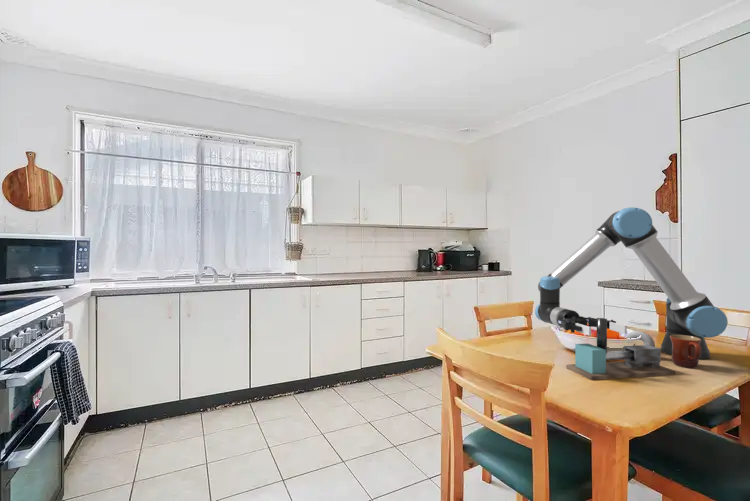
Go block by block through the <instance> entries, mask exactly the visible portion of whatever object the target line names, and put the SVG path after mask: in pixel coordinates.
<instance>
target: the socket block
mask: <svg viewBox="0 0 750 501" xmlns="http://www.w3.org/2000/svg"><path fill="white" fill-rule="evenodd" d="M574 347H575V357H574V358H575V362H574V364H575V366H576V367H578V368H581V369H583V370H585V371H587V372H589V373H592V374H598V373H606V362H607V361H606V350H605V349H602V348H600V347H597V345H595V344H590V343H575V346H574Z"/></svg>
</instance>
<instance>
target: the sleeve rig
mask: <svg viewBox="0 0 750 501" xmlns="http://www.w3.org/2000/svg"><path fill="white" fill-rule="evenodd" d="M626 350H633V351H634V359H627V360H620V361H610V362H609V361H606V373H598V374H592V373H589V372H587V371H585V370H583V369H581V368H578V367H576V366H575V363H573V364H566V365H565V366H566V367H565V368H566V369H567V370H570V371H572V372H574V373H576V374H578V375H580V376H583V377H584V378H586V379H588V380H590V379H591V381H596V380H597V379H598V380H612V379H613V378H614V379H626V378H628V379H629V378H642V377H643V378H644V377H654V376H655V377H657V376H673V375H676V374H677V373H676V370H674V369H672V368H671V369H670V368H668V367H665V366H663V365H660V363H661V361H662V360H661V359H662V358H661V353H662V351H661V347H657V346H655V347H654V346H650V345H644V344H638V345H636V346H625V345H624V346H623V351H626ZM611 378H612V379H611Z"/></svg>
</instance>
